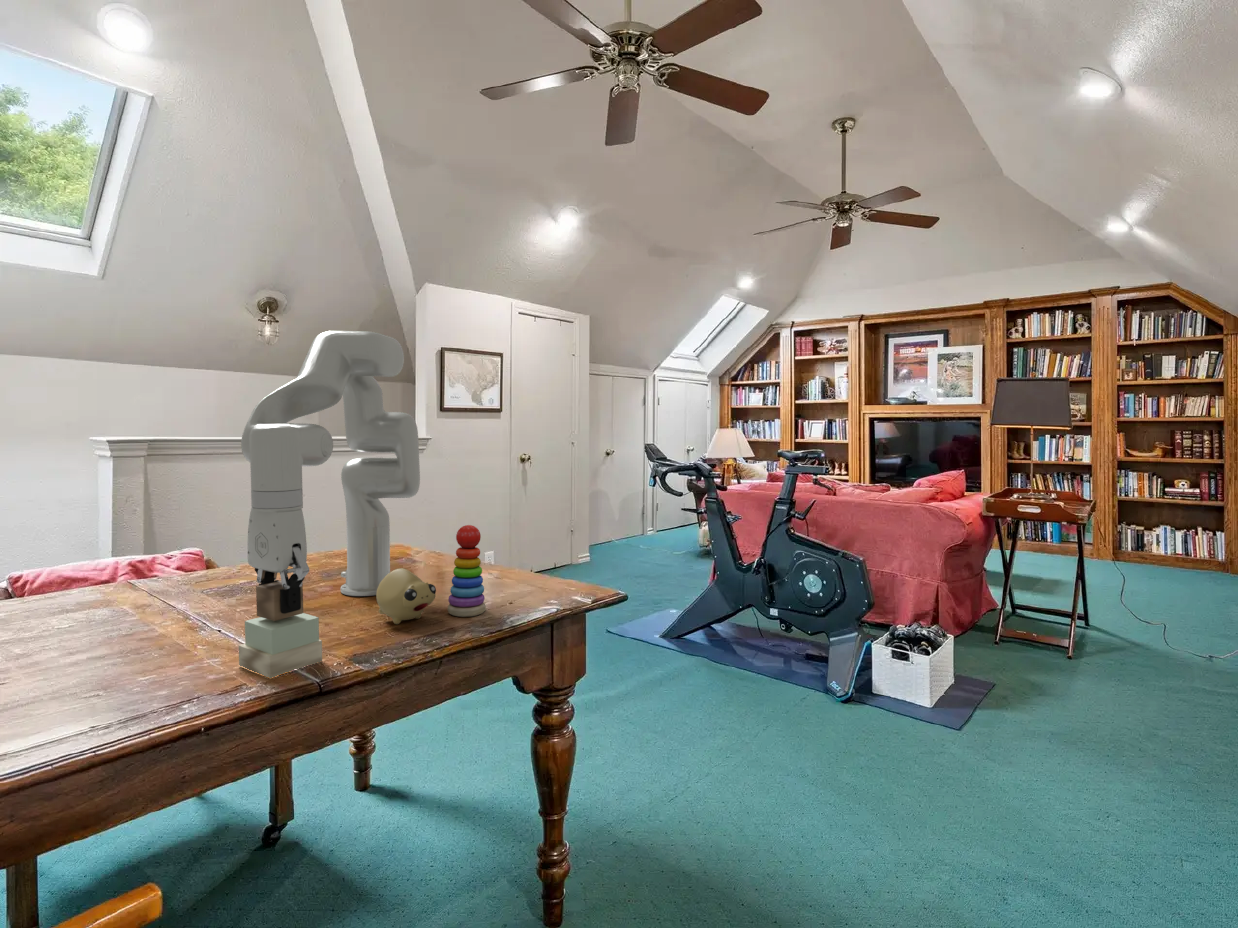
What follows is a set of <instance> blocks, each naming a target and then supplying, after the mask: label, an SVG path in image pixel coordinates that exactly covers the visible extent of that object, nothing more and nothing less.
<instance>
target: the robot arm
mask: <svg viewBox="0 0 1238 928" xmlns="http://www.w3.org/2000/svg"><path fill="white" fill-rule="evenodd" d="M404 364H405V354H404V350H403V347H402V345H401V343H400V342H399V341H398V340H397V339H396V337H395V338H394V337H392V336H389V335H386V334H382V333H381V332H374V331H365V330H364V331H363V330H361V331H360V330H359V331H358V330H328V331H323V332H321V333H319V334H317V336H315V337H314V339H313V341H312V343H311V344H310V347H309V349H308V352H307V354H306V356H305V358H304V360H303V363H302V365H301V367H300V369H299V372H298V374H297V376H296V378H295V379H293V380H291V381H289V382H287V383H285V384H284V385H282V386H280V387H279V388H276V389H275V390H274V391H271V393H269V394H268V395H266V396H265V397H263V398H262V399H261V400H260V401H259V402H257V404H256V405H255V407H254V408H253V410H252V412H251V414H250V416H249V418H248V420H247V422H246V424H245V426H244V429H243V432H242V436H241V441H240V449H241V452H242V455H243V458H245V460H246V461H248V462H249V463H250V465H249V466H250V468H249V469H250V497H251V498H250V500H251V501H250V502H251V503H250V504H251V505H250V506H251V509H250V513H249V519H248V527H247V528H248V529H247V551H246V552H247V563H248V565H249V566H250V567H252V568H254V572H255V573H256V575H257V576H256V582H257V583H258V586H259V585H264V584H268V583H273V582H278V581H282V586H283V589H280V606H281V613H283V614H285V613H289V612H293V611H297V610H300V609H301V586H302V585H303V582H304V580H305V578H306V576H307V575H308V573H309V572H310V567H309V564H308V563H307V560H308V559H307V558H308V549H307V548H308V546H307V544H308V542H307V532H306V525H305V524H306V523H305V519H304V514H303V513H304V511H303V508H304V501H303V499H304V496H303V467H316V466H320V465H323V464H324V463H325V462H327V461H328V460H329V458H330V457H331V455H332V453H333V449H334V440H333V436H332V435H331V433H330V431H329V430H328V429H327V428H326V427H324V426H322V425H320V424H317V423H316V424H315V423H295V422H293V423H291V421H293V420H296V419H298V418H302V417H305V416H309V415H311V414H315V413H318V412H321V411H324V410H326V409H329V408H332V407H334V406H335V405H337V404H338V403H339V402H340V401H341V399H343V400H342V401H343V414H344V415H343V416H344V427H345V430H344V431H345V439H346V443H347V445H348V448H349V449H350V450H352V451H353V452H358V453H369V454H370V453H374V454H375V453H377V454H378V453H380V454H382V453H384V454H386V453H387V454H390V453H391V454H394V455H395V456H396V457H357V458H356V457H355V458H353V459H350V460H348V461H347V462H346V463H345V464H343V466H342V468H341V474H340V475H341V476H340V477H341V478H340V481H341V484H342V489H343V495H344V500H345V514H346V518H345V519H346V567H347V568H346V570H345V571H341V573H340V577H341V578H345V583H344V584H342V585H341V586H340V588H339V589H340V592H341V594H343V595H346V596H351V597H371V596H372V597H373V596H376V593H377V588H378V586H379V584H380V582H381V581H382V580H383V578H384V577H385V576H386V575H387V574H389V573H390V572H391V547H390V545H391V544H390V543H391V541H390V539H391V536H390V535H391V533H390V532H391V531H390V523H391V520H390V514H389V512H388V510H387V508H386V507H385V506H384V504H383V503H382V501H381V500H380V499H410V498H412V497H414V496H416V495H417V494H418V492H419V490H420V487H421V486H420V484H421V473H420V472H421V471H420V449H419V445H420V444H419V430H418V426H417V423H416V420H415V418H414V417H413V416H412V415H411V414H410V413H408V412H407V413H406V412H402V411H401V412H400V411H385V408H384V400H383V391H382V390H383V389H382V387H381V385H380V384H379V382H378V381H377V379H375V377H384V378H385V377H386V378H388V377H389V378H390V377H393V378H394V377H396V376H398V375H399V374H400V373H401V371H402V370H403V368H404ZM289 567H291V568H289ZM291 573H292V574H291ZM278 574H279V576H280V580H278V579H277V578H278V577H277V576H278ZM289 574H291V575H290V577H289V576H288V575H289ZM303 586H304V585H303Z"/></svg>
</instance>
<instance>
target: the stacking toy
mask: <svg viewBox="0 0 1238 928" xmlns="http://www.w3.org/2000/svg"><path fill="white" fill-rule="evenodd" d="M455 535H456V536H455V539H456V542H457V544H458V546H460V547H458V548H457V549H456V551H455V554H456V558H455V559H454V561H453V563H454V566H455V567H454V568H453V570H452V571H453V575H454V576H453V577H452V579H451V585H452V586H451V587H450V589H449V590H450V591H449V592H450V595H449V596H448V606H447V612H448V613H449V614H450V615H452V616H455V617H462V618H465V617H466V618H467V617H475V616H479V615H481V614H483V613H484V612H485V611H486V610H487V605H486V603H485V599H486V598H485V594H484V591H485V586H484V585H483V582H484V579H483V576H482V573H483V568H482V567H481V563H482V562H481V561H482V560H481V559H480V555H481V549H480V548H479V547H477V546H478V545H479V543H480V541H481V538H482V537H481V532H480V530H479V529H478V527H476V526H475V525H471V524H467V525H463V526H461V527H459V528H458V530H457V531H456V534H455Z"/></svg>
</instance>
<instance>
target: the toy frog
mask: <svg viewBox="0 0 1238 928" xmlns="http://www.w3.org/2000/svg"><path fill="white" fill-rule="evenodd" d="M436 588H437V587H436V586H435V585H434V584H433V583H429V582H425V581H423V580H422V579H421V578H420V577H419V576H418V575H416V574H415V573H413V572H411V571H410V570H409V569H406V568H403V567H398V568H396V569H394V570H390V573H389V574H387V575H386V576H385V577H384V578H383V580H382V581H381V582H380V584H379V586H378V588H377V593H376V595H375V596H376V603H377V604H378V608H379V609H378V612H379V614H380V615H386V616H387V617H389V618H390V619H392V622H393V623H394V624H395V625H399V624H401V622H402V621H409V620H413V619H416V620H417V619H420V618H421V617H422V613H423V612H424V611H425V610H426V608H427V607H428V606H429V605H431V604H432V603H433V601H435V599H436V592H437V589H436Z"/></svg>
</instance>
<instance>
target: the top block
mask: <svg viewBox="0 0 1238 928" xmlns="http://www.w3.org/2000/svg"><path fill="white" fill-rule="evenodd" d="M319 620H320V619H319V616H316V615H312V614H308V613H305V612H303V613H302V614H299V615H295V616H291V617H287V618H284V619H280V620H276V621H273V620H269V619H266V618H262V617H259V616H258V617H255V618H252V619H248V620H244V642H245V643H244V644H245V645H247V646H250V647H253V648H255V649H258V650H261V651H263V652H266V653H269V654H271V655H274V654H277V653H280V652H283V651H287V650H290V649H293V648H297V647H300V646H303V645H307V644H310V643H313V642H317V641H319V640H320V623H319V622H320V621H319Z"/></svg>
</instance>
